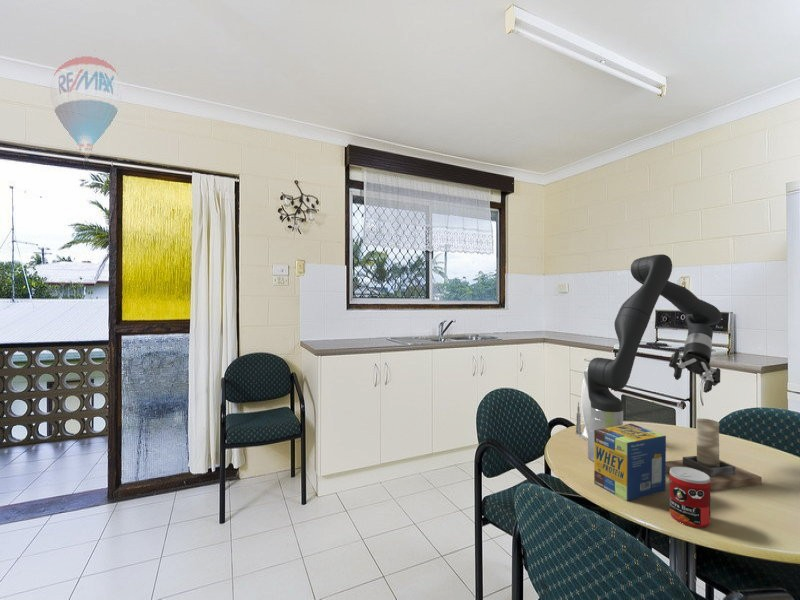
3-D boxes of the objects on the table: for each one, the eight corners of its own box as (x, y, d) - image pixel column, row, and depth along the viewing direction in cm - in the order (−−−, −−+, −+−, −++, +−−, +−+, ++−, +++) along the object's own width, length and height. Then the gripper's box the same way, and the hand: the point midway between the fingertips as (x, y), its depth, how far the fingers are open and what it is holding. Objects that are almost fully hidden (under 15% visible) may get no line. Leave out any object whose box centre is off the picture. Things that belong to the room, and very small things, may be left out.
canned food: (662, 514, 92) (662, 469, 92) (682, 507, 95) (682, 463, 95) (697, 532, 85) (697, 483, 85) (717, 523, 88) (717, 477, 88)
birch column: (701, 471, 110) (700, 423, 110) (693, 463, 115) (693, 417, 115) (723, 473, 109) (722, 424, 109) (714, 465, 114) (713, 419, 114)
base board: (703, 491, 103) (703, 475, 103) (659, 468, 117) (659, 455, 117) (761, 484, 107) (761, 469, 107) (712, 462, 121) (712, 449, 121)
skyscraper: (595, 433, 148) (595, 362, 148) (608, 441, 140) (608, 366, 140) (575, 433, 148) (575, 362, 148) (586, 441, 140) (586, 366, 140)
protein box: (593, 483, 108) (593, 429, 108) (631, 474, 113) (631, 423, 113) (627, 502, 98) (626, 442, 98) (667, 491, 104) (667, 434, 103)
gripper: (681, 334, 132) (674, 369, 123) (728, 352, 127) (724, 390, 119) (669, 345, 138) (662, 379, 129) (713, 363, 133) (709, 400, 124)
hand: (692, 384), depth 124 cm, fingers open, 8 cm apart
